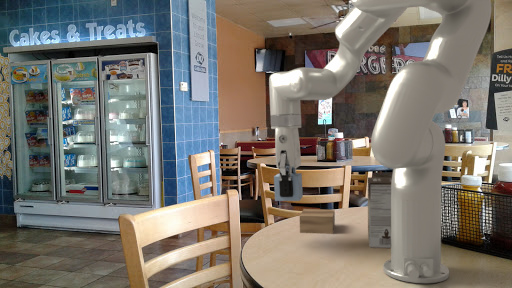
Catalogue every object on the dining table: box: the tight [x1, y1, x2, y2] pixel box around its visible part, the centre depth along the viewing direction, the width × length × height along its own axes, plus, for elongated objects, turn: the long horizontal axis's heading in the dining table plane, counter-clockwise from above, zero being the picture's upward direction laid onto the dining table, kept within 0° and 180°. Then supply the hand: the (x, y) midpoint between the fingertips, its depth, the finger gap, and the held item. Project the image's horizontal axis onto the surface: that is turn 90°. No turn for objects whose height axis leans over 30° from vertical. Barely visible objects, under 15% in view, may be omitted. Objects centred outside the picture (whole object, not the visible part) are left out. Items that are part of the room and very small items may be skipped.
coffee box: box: [367, 176, 392, 249], centre depth 113 cm, size 9×6×16 cm
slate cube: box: [273, 172, 303, 202], centre depth 113 cm, size 6×6×6 cm
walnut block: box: [299, 208, 336, 235], centre depth 128 cm, size 9×9×5 cm
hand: (288, 193), depth 113 cm, fingers closed on slate cube, 6 cm apart
